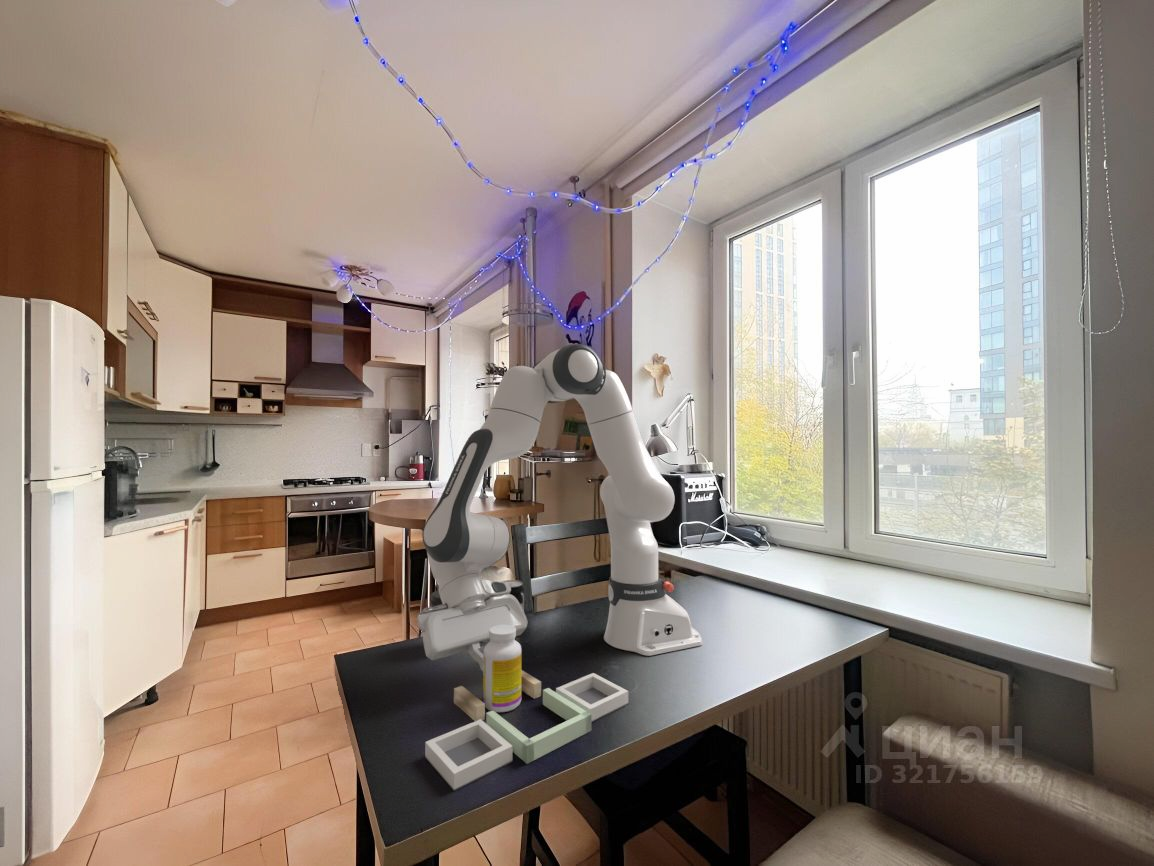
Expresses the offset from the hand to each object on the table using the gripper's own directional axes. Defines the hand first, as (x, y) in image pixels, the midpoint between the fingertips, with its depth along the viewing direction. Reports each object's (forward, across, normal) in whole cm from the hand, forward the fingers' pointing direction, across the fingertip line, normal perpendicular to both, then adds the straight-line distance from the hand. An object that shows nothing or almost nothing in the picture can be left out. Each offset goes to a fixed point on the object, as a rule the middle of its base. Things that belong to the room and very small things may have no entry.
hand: (490, 667), depth 87 cm
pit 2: (+13, +12, -6) cm, 19 cm away
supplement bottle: (+6, 0, +1) cm, 6 cm away
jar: (-14, +4, +21) cm, 25 cm away
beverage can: (-12, +18, +19) cm, 29 cm away
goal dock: (+13, 0, -6) cm, 15 cm away
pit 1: (+13, -12, -6) cm, 19 cm away
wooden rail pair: (+5, 0, +2) cm, 5 cm away
